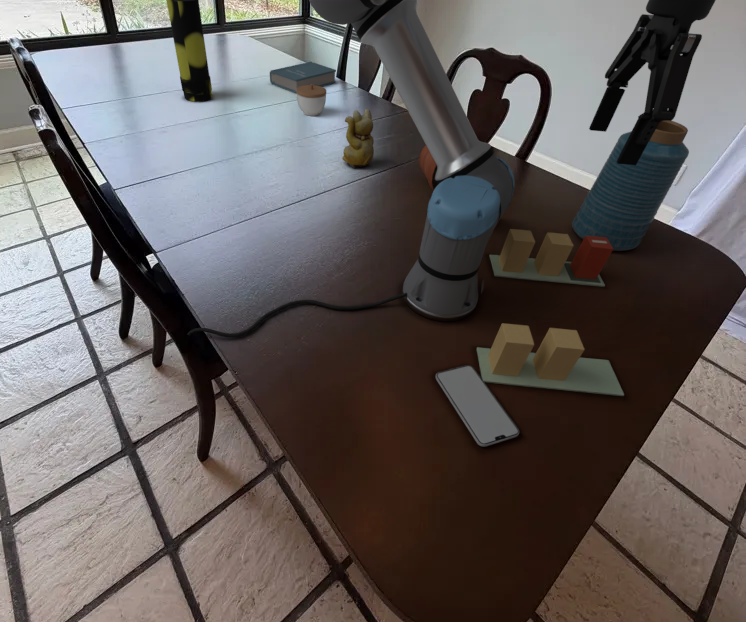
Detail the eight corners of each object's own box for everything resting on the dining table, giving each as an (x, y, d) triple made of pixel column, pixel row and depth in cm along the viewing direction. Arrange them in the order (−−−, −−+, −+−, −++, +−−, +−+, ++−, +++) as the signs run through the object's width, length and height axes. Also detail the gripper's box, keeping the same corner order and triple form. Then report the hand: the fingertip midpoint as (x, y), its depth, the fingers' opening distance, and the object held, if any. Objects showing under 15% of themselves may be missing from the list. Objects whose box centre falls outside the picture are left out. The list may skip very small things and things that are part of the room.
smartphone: (471, 363, 77) (522, 433, 67) (470, 366, 78) (520, 435, 68) (433, 373, 75) (481, 446, 65) (433, 375, 76) (479, 448, 66)
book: (296, 93, 176) (296, 79, 172) (270, 83, 183) (269, 69, 179) (335, 83, 188) (336, 69, 184) (309, 74, 195) (309, 61, 191)
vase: (651, 254, 106) (726, 141, 87) (587, 253, 105) (649, 139, 86) (617, 219, 118) (677, 112, 98) (559, 218, 116) (608, 110, 97)
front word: (482, 382, 75) (497, 348, 69) (476, 348, 81) (489, 314, 75) (623, 396, 75) (650, 363, 69) (607, 361, 80) (631, 328, 74)
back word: (494, 276, 97) (507, 244, 91) (489, 255, 102) (500, 223, 96) (604, 286, 96) (624, 254, 90) (592, 265, 102) (610, 233, 96)
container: (219, 97, 167) (205, -1, 146) (196, 104, 161) (179, 2, 140) (200, 91, 172) (185, -6, 150) (177, 97, 166) (158, -3, 144)
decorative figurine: (361, 155, 137) (365, 103, 127) (379, 165, 133) (386, 112, 123) (338, 163, 133) (340, 110, 122) (357, 173, 129) (361, 119, 118)
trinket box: (310, 105, 167) (310, 77, 160) (331, 113, 162) (332, 85, 155) (290, 112, 161) (289, 83, 154) (312, 120, 156) (312, 91, 149)
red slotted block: (575, 277, 97) (592, 246, 91) (569, 265, 100) (585, 234, 94) (595, 279, 97) (613, 248, 91) (589, 267, 100) (606, 236, 94)
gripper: (781, -4, 48) (666, 182, 63) (678, -31, 65) (608, 120, 80) (711, -10, 48) (614, 178, 63) (627, -35, 65) (566, 116, 80)
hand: (610, 146), depth 72 cm, fingers open, 13 cm apart
